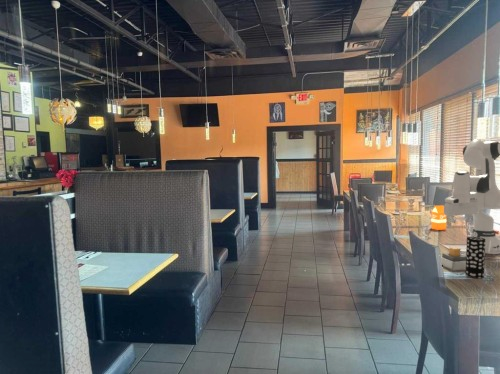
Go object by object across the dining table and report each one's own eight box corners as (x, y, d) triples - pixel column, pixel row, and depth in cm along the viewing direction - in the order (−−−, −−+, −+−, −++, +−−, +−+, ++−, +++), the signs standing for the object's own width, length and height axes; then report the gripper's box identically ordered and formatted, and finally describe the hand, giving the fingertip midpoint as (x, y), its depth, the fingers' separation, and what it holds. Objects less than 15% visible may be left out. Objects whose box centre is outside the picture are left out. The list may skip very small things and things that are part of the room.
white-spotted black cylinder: (477, 273, 202) (478, 236, 200) (487, 278, 194) (489, 240, 192) (462, 273, 202) (463, 236, 200) (471, 278, 194) (473, 240, 192)
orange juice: (446, 229, 319) (447, 205, 317) (437, 229, 316) (438, 206, 315) (439, 227, 326) (440, 204, 324) (430, 228, 324) (431, 205, 322)
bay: (464, 261, 223) (464, 250, 223) (482, 268, 210) (482, 257, 209) (436, 263, 221) (437, 252, 220) (453, 270, 207) (453, 258, 206)
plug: (455, 259, 217) (455, 247, 216) (460, 260, 213) (460, 248, 212) (448, 259, 216) (449, 247, 216) (453, 261, 212) (454, 249, 212)
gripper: (473, 197, 223) (472, 219, 225) (442, 199, 220) (441, 222, 222) (481, 198, 217) (480, 221, 219) (449, 200, 214) (448, 224, 216)
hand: (460, 222), depth 220 cm, fingers open, 8 cm apart
